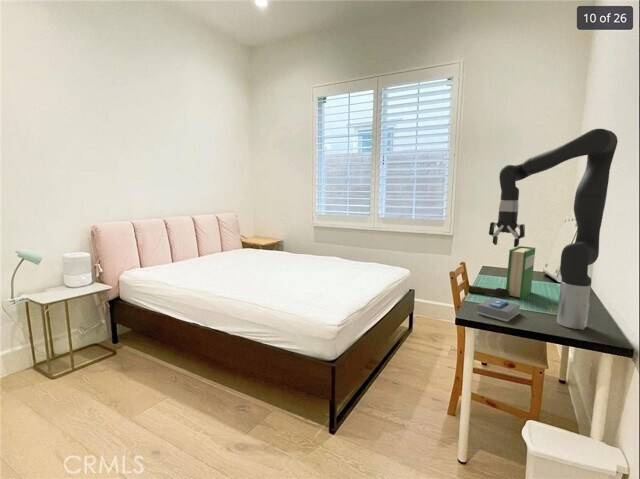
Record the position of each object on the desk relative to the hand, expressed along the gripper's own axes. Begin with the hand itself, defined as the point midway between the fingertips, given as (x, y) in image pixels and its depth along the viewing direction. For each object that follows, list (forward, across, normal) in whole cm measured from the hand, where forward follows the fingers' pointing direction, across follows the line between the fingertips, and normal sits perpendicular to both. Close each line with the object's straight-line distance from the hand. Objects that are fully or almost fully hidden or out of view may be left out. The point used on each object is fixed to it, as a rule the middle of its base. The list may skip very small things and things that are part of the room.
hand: (505, 245), depth 152 cm
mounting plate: (+28, -4, +13) cm, 31 cm away
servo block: (+27, -4, +13) cm, 31 cm away
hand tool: (+28, +10, -12) cm, 32 cm away
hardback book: (+28, 0, -25) cm, 38 cm away
